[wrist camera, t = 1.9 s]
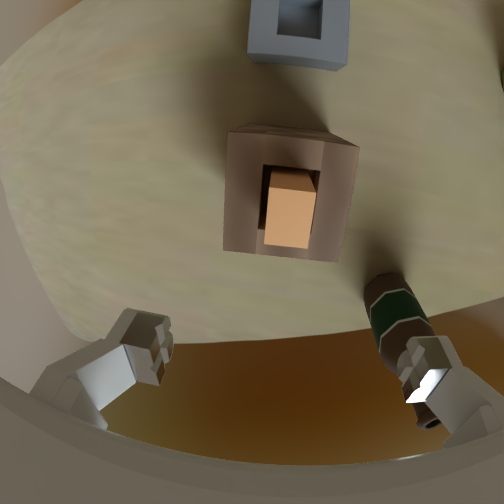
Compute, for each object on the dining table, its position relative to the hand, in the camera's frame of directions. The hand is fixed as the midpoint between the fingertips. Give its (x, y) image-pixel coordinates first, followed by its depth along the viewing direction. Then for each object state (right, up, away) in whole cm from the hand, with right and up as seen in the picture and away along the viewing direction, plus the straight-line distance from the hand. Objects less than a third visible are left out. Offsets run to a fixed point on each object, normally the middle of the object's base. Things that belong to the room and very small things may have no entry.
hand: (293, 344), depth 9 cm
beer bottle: (+20, -3, +33) cm, 38 cm away
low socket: (+4, +29, +17) cm, 34 cm away
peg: (+2, +9, +17) cm, 19 cm away
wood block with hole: (+3, +13, +26) cm, 29 cm away
